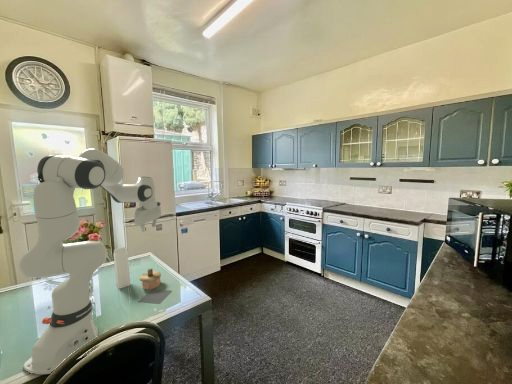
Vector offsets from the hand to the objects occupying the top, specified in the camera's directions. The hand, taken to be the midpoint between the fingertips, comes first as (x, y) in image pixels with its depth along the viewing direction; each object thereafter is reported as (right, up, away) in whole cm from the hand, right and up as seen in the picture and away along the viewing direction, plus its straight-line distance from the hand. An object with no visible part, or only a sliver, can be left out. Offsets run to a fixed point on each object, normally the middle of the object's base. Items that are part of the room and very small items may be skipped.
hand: (149, 228), depth 135 cm
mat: (+10, -33, -14) cm, 37 cm away
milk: (-14, -32, -2) cm, 35 cm away
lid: (+2, -27, -3) cm, 27 cm away
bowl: (+2, -32, -2) cm, 32 cm away
